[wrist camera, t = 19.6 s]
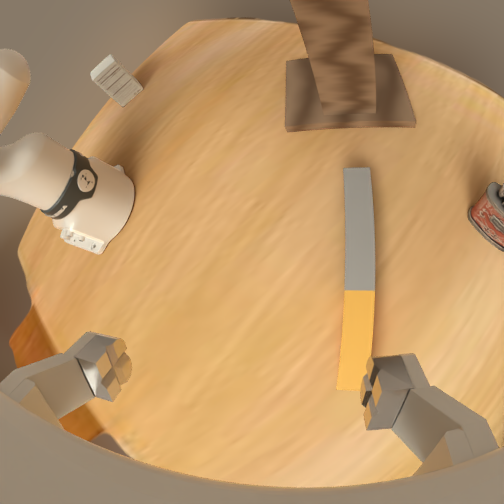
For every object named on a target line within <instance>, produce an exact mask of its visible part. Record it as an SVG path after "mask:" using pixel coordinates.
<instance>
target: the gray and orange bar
mask: <svg viewBox="0 0 504 504" xmlns="http://www.w3.org/2000/svg"><path fill="white" fill-rule="evenodd" d="M343 171H344V192H345V236H346V246H345V290H344V311H343V326H342V339H341V350H340V361H339V370H338V379H337V387H336V390H357V391H361V383H362V379H363V376H365V375H366V374H367V370H366V364H367V360H368V359H369V357H371V350H372V338H373V323H374V304H375V231H374V211H373V196H372V184H371V174H370V168H343Z"/></svg>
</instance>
